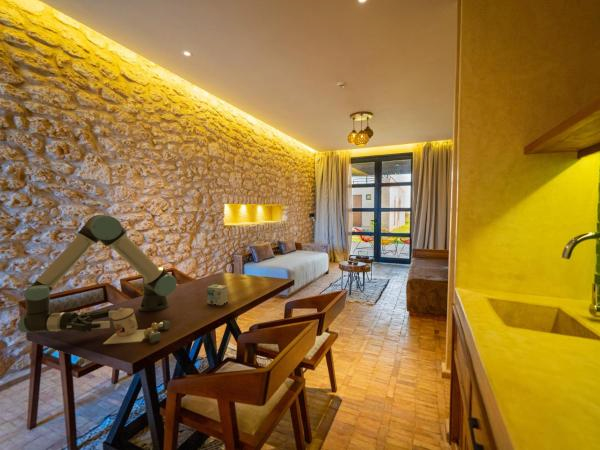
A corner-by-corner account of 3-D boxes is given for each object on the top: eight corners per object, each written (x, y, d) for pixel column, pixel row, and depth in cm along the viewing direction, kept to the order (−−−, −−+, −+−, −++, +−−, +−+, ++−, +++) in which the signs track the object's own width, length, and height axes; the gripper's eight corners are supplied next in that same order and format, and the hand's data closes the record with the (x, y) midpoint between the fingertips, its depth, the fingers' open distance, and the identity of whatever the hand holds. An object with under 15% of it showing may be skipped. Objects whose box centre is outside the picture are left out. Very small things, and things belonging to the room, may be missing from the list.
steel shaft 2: (165, 326, 138) (164, 317, 138) (169, 329, 135) (169, 319, 135) (151, 331, 132) (151, 321, 132) (155, 333, 130) (155, 324, 130)
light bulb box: (206, 303, 174) (206, 286, 173) (213, 300, 180) (213, 284, 180) (221, 305, 170) (221, 288, 170) (227, 302, 177) (227, 285, 176)
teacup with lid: (111, 335, 127) (104, 312, 125) (129, 323, 135) (123, 302, 133) (129, 339, 123) (122, 316, 120) (147, 327, 131) (141, 305, 128)
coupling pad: (118, 331, 132) (118, 330, 132) (152, 329, 134) (151, 328, 134) (103, 344, 119) (103, 343, 119) (141, 341, 121) (140, 340, 121)
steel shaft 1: (161, 340, 123) (161, 329, 123) (151, 343, 120) (151, 333, 119) (153, 336, 127) (153, 326, 127) (143, 339, 123) (143, 329, 123)
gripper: (81, 319, 134) (129, 316, 138) (43, 342, 110) (102, 339, 113) (81, 304, 134) (129, 301, 137) (42, 324, 109) (102, 320, 113)
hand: (117, 318), depth 125 cm, fingers open, 13 cm apart
